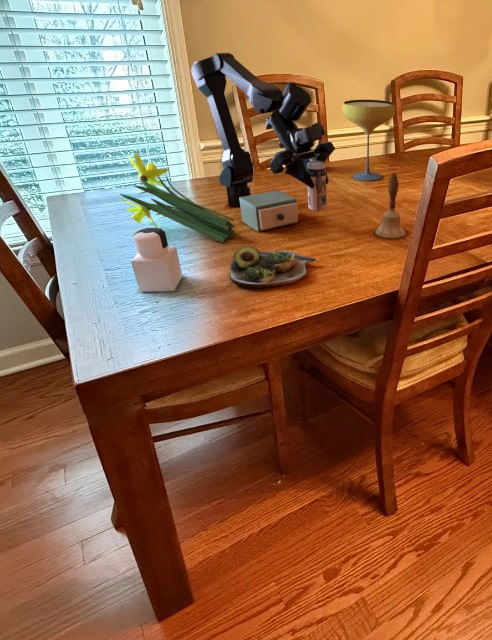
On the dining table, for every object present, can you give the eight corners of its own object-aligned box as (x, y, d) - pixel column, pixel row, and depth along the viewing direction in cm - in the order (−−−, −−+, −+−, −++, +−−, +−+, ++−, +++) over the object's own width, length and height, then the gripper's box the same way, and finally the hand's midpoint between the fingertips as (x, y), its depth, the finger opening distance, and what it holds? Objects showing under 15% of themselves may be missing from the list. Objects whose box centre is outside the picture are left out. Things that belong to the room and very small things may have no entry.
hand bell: (408, 229, 129) (413, 171, 120) (400, 240, 122) (404, 179, 114) (380, 225, 131) (382, 167, 122) (371, 236, 124) (372, 175, 116)
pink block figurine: (149, 276, 102) (135, 224, 96) (183, 276, 103) (171, 224, 96) (139, 292, 96) (123, 237, 90) (174, 291, 97) (161, 237, 90)
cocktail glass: (392, 184, 166) (396, 107, 152) (341, 183, 166) (340, 106, 152) (391, 171, 181) (394, 100, 167) (344, 170, 181) (344, 98, 167)
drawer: (300, 222, 130) (299, 204, 127) (264, 231, 124) (262, 212, 121) (282, 212, 136) (281, 195, 133) (247, 220, 130) (245, 202, 128)
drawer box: (298, 222, 132) (296, 198, 128) (258, 232, 126) (255, 207, 122) (280, 213, 138) (278, 189, 135) (242, 221, 132) (239, 197, 128)
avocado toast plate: (312, 252, 115) (311, 234, 113) (322, 285, 101) (321, 265, 98) (231, 258, 111) (228, 240, 109) (230, 293, 97) (227, 273, 94)
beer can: (322, 213, 121) (321, 165, 114) (305, 210, 122) (303, 163, 115) (329, 207, 125) (328, 161, 118) (312, 205, 126) (310, 159, 119)
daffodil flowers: (203, 258, 113) (86, 202, 118) (230, 264, 127) (126, 214, 132) (230, 193, 111) (111, 139, 116) (255, 207, 126) (148, 159, 130)
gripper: (273, 115, 107) (308, 174, 107) (329, 107, 119) (361, 160, 119) (254, 146, 115) (288, 200, 115) (309, 135, 127) (338, 184, 128)
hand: (320, 185), depth 119 cm, fingers closed on beer can, 5 cm apart
